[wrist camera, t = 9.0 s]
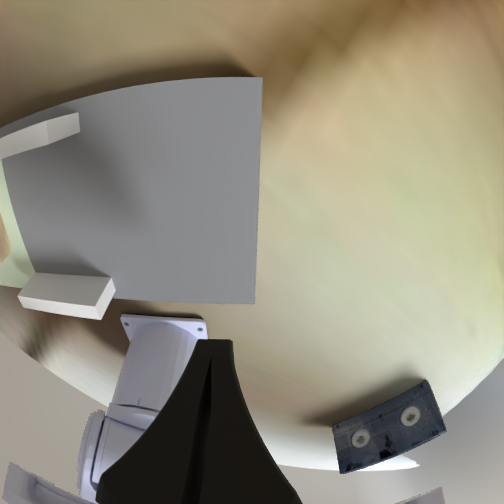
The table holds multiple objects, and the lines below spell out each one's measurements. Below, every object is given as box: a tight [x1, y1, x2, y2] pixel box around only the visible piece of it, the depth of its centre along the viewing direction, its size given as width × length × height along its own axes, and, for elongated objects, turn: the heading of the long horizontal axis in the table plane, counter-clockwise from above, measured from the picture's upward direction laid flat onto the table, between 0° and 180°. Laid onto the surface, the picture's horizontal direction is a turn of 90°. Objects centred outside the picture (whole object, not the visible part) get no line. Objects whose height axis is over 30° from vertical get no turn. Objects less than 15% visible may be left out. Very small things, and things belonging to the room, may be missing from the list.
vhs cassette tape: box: [332, 380, 447, 474], centre depth 32 cm, size 18×3×10 cm, turn 130°
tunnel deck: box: [0, 77, 263, 320], centre depth 14 cm, size 14×36×6 cm, turn 89°
